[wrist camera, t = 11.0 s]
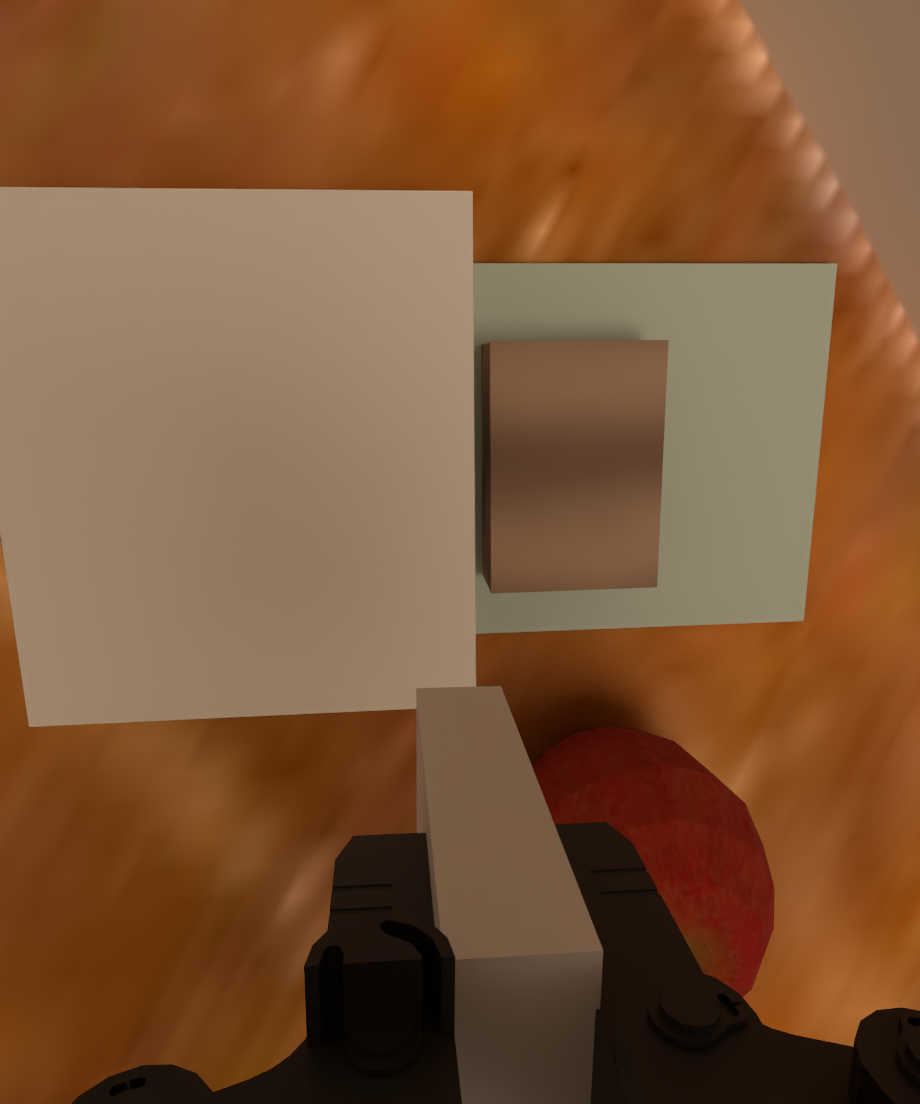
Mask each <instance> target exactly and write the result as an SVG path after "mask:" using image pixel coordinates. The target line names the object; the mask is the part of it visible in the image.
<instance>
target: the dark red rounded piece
mask: <svg viewBox="0 0 920 1104" xmlns="http://www.w3.org/2000/svg"><path fill="white" fill-rule="evenodd" d="M532 768H533V770H534V773H535V775H536V778H537V781H538V783H539V786H540V788H541V791H542V793H543V796H544V799H545V801H546V804H547V806H548V809H549V812H550V814H551V817H552V819H553V822H554V824H569V823H592V822H607V823H608V824H610V825H611V826H612V827H614V828H615V829H616V830H617V831H619V832H620V833H621V834H622V835H624V836H625V837H626V838H627V839H629V840H630V841H631V842H632V843H633V845H634V846H635V848H636V850H637V852H638V854H639V856H640V857H641V859H642V861H643V863H644V865H645V867H646V872H647V873H649V874H650V876H651V878H652V880H653V881H654V883H655V885H656V887H657V890H658V894H661V896H662V898H663V900H664V902H665V903H666V905H667V907H668V909H669V911H670V913H671V914H672V916H673V918H674V920H675V922H676V924H677V926H678V927H679V929H680V931H681V933H682V935H683V937H684V938H685V940H686V942H687V944H688V946H689V948H690V949H691V951H692V953H693V955H694V957H695V959H696V960H697V962H698V964H699V966H700V968H701V970H702V972H703V973H704V974H706V975H709V976H712V977H715V978H717V979H718V980H720V981H721V982H723V983H724V984H726V985H727V986H729V987H730V988H732V989H733V990H735V991H736V992H738V993H739V994H740V995H741V996H742V997H743V996H744V995H746V994H747V993H748V992H749V991H750V990H751V989H752V987H753V984H754V981H755V978H756V975H757V973H758V970H759V967H760V964H761V962H762V959H763V956H764V953H765V951H766V948H767V945H768V942H769V940H770V937H771V934H772V931H773V928H774V885H773V881H772V878H771V874H770V870H769V866H768V862H767V858H766V855H765V851H764V847H763V844H762V842H761V839H760V837H759V835H758V832H757V830H756V828H755V825H754V823H753V821H752V818H751V816H750V814H749V811H748V809H747V806H746V804H745V803H744V802H743V801H742V800H741V799H740V798H739V797H738V796H736V795H735V794H734V793H733V792H732V791H731V790H730V789H729V788H728V787H726V786H725V785H724V784H723V783H722V782H721V781H720V780H719V779H718V778H716V777H715V776H714V775H713V774H712V773H711V772H710V771H709V770H708V769H707V768H705V767H704V766H703V765H702V764H701V763H699V762H698V761H697V760H696V759H695V758H693V757H692V756H691V755H690V754H689V753H688V752H686V751H685V750H684V749H683V748H682V747H680V746H679V745H678V744H677V743H676V742H674V741H671V740H668V739H665V738H662V737H659V736H656V735H652V734H649V733H646V732H643V731H640V730H637V729H631V728H622V727H613V726H602V727H598V728H594V729H590V730H586V731H582V732H578V733H575V734H573V735H572V736H570V737H568V738H566V739H564V740H562V741H560V742H559V743H557V744H555V745H553V746H551V747H549V749H548V750H547V751H546V752H545V753H544V754H543V755H542V756H541V757H540V759H539V760H538V761H537V762H536V763H535V764H534V765H533V766H532Z"/></svg>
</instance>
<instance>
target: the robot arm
mask: <svg viewBox="0 0 920 1104" xmlns="http://www.w3.org/2000/svg"><path fill="white" fill-rule="evenodd" d="M416 731H417V833H407V834H385V835H363V836H353V837H352V838H351V840H350V841H349V842H348V844H347V845H346V846H345V848H344V849H343V850H342V852H341V853H340V854H339V855H338V857H337V858H336V859H335V868H334V877H333V889H332V896H331V905H330V915H329V923H328V931H327V932H326V933H325V934H324V935H323V936H322V937H321V938H320V939H319V940H318V941H317V942H316V943H315V944H314V945H313V946H312V948H311V951H310V953H309V956H308V958H307V961H306V963H305V966H304V973H305V999H306V1025H307V1037H306V1039H305V1040H304V1041H303V1042H302V1043H301V1044H300V1045H299V1047H298V1048H297V1049H296V1050H295V1051H294V1052H293V1053H292V1054H291V1055H290V1056H289V1057H287V1058H286V1059H284V1060H283V1061H282V1062H280V1063H279V1064H277V1065H276V1066H275V1067H273V1068H272V1069H270V1070H268V1071H266V1072H264V1073H261V1074H259V1075H257V1076H255V1077H253V1078H251V1079H249V1080H246V1081H243V1082H240V1083H238V1084H235V1085H232V1086H229V1087H227V1088H224V1089H221V1090H218V1091H216V1092H212V1090H211V1089H210V1088H209V1087H208V1086H207V1085H206V1084H205V1082H204V1081H203V1080H202V1079H201V1078H200V1077H199V1076H198V1074H197V1073H194V1072H191V1071H189V1070H186V1069H183V1068H180V1067H178V1066H175V1065H172V1064H171V1065H145V1066H139V1067H136V1068H133V1069H130V1070H127V1071H124V1072H121V1073H118V1074H116V1075H113V1076H110V1077H108V1078H106V1079H105V1080H103V1081H102V1082H100V1083H99V1084H97V1085H95V1086H94V1087H92V1088H91V1089H89V1090H88V1091H86V1092H85V1093H83V1094H82V1095H80V1096H78V1097H77V1098H76V1099H75V1101H74V1102H73V1103H72V1104H920V1011H917V1010H912V1009H907V1008H893V1009H883V1010H876V1011H875V1012H873V1013H872V1014H870V1015H869V1016H867V1017H866V1018H864V1019H863V1020H861V1021H860V1024H859V1027H858V1030H857V1034H856V1037H855V1041H854V1047H851V1046H846V1045H841V1044H836V1043H831V1042H826V1041H821V1040H816V1039H811V1038H806V1037H801V1036H796V1035H792V1034H789V1033H785V1032H782V1031H778V1030H775V1029H772V1028H770V1027H767V1026H765V1025H763V1024H762V1023H761V1021H760V1019H759V1018H758V1016H757V1014H756V1013H755V1012H754V1011H753V1009H752V1008H751V1007H750V1006H749V1005H748V1003H747V1002H746V1001H745V1000H744V999H743V997H742V996H741V995H740V994H739V993H738V992H736V991H735V990H733V989H732V988H730V987H729V986H727V985H726V984H724V983H723V982H721V981H720V980H718V979H717V978H715V977H712V976H709V975H706V974H704V973H703V972H702V970H701V968H700V966H699V964H698V962H697V960H696V959H695V957H694V955H693V953H692V951H691V949H690V948H689V946H688V944H687V942H686V940H685V938H684V937H683V935H682V933H681V931H680V929H679V927H678V926H677V924H676V922H675V920H674V918H673V916H672V914H671V913H670V911H669V909H668V907H667V905H666V903H665V902H664V900H663V898H662V896H661V894H658V890H657V887H656V885H655V883H654V881H653V880H652V878H651V876H650V874H649V873H647V872H646V867H645V865H644V863H643V861H642V859H641V857H640V856H639V854H638V852H637V850H636V848H635V846H634V845H633V843H632V842H631V841H630V840H629V839H627V838H626V837H625V836H624V835H622V834H621V833H620V832H619V831H617V830H616V829H615V828H614V827H612V826H611V825H610V824H608V823H607V822H592V823H569V824H554V822H553V819H552V817H551V814H550V812H549V809H548V806H547V804H546V801H545V799H544V796H543V793H542V791H541V788H540V786H539V783H538V781H537V778H536V775H535V773H534V770H533V768H532V765H531V762H530V760H529V757H528V755H527V752H526V749H525V747H524V744H523V742H522V739H521V737H520V734H519V731H518V729H517V726H516V724H515V721H514V718H513V716H512V713H511V711H510V708H509V706H508V703H507V700H506V698H505V695H504V693H503V690H502V687H501V686H477V687H441V688H416Z"/></svg>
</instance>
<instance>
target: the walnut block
mask: <svg viewBox="0 0 920 1104" xmlns="http://www.w3.org/2000/svg"><path fill="white" fill-rule="evenodd" d="M668 341H669V340H608V341H509V342H488V343H485V344H482V345H481V385H482V529H483V577H484V579H485V581H486V583H487V585H488V587H489V590H490V592H491V593H517V592H544V591H571V590H598V589H625V588H652V587H657V579H658V557H659V536H660V514H661V492H662V471H663V449H664V427H665V406H666V384H667V362H668Z"/></svg>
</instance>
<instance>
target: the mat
mask: <svg viewBox="0 0 920 1104" xmlns="http://www.w3.org/2000/svg"><path fill="white" fill-rule="evenodd" d="M836 272H837V264H689V263H473V322H474V467H475V612H476V634H484V633H509V632H535V631H560V630H586V629H611V628H637V627H662V626H687V625H713V624H738V623H764V622H789V621H804V612H805V602H806V591H807V580H808V570H809V559H810V548H811V538H812V527H813V517H814V506H815V495H816V485H817V474H818V463H819V453H820V442H821V432H822V421H823V410H824V400H825V389H826V378H827V368H828V357H829V346H830V336H831V325H832V315H833V304H834V293H835V283H836ZM608 340H669V341H668V362H667V384H666V406H665V427H664V449H663V471H662V492H661V514H660V536H659V557H658V579H657V587H652V588H625V589H598V590H571V591H544V592H517V593H491V592H490V590H489V587H488V585H487V583H486V581H485V579H484V577H483V529H482V385H481V345H482V344H485V343H488V342H509V341H608Z"/></svg>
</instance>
